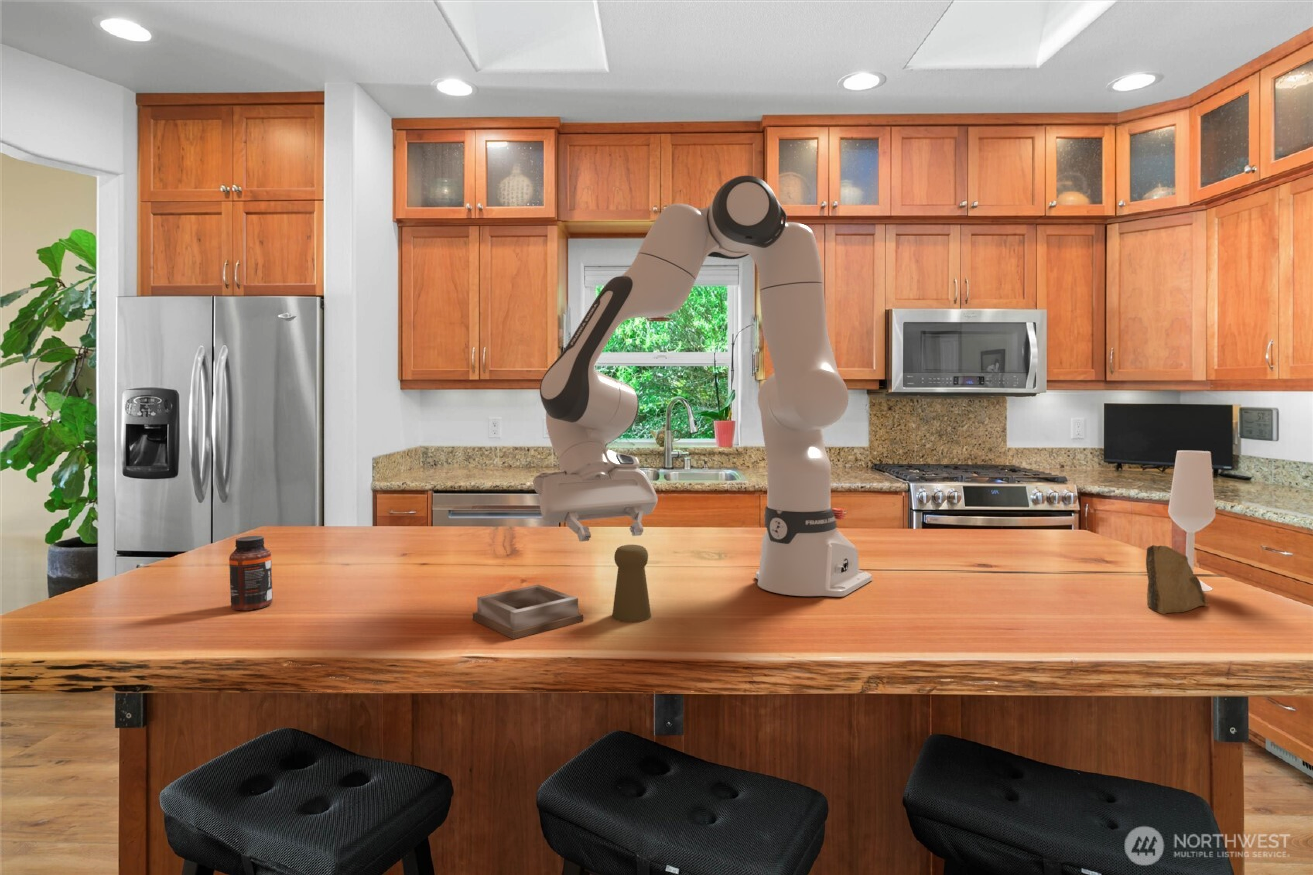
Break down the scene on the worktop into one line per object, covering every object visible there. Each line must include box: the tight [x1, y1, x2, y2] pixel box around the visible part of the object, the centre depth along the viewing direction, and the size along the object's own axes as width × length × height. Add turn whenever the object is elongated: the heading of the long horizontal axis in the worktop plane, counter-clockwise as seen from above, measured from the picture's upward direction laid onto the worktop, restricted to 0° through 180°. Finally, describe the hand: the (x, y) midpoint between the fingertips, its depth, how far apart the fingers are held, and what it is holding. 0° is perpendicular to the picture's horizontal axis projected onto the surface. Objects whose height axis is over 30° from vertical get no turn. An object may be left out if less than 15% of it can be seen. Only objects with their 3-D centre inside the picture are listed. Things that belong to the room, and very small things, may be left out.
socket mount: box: [472, 584, 584, 640], centre depth 107 cm, size 12×12×4 cm
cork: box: [611, 544, 652, 623], centre depth 109 cm, size 6×6×11 cm
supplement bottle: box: [228, 535, 273, 611], centre depth 115 cm, size 6×6×11 cm
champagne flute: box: [1167, 450, 1217, 592], centre depth 125 cm, size 7×7×24 cm
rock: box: [1145, 544, 1209, 615], centre depth 112 cm, size 11×9×10 cm
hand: (612, 536), depth 114 cm, fingers open, 8 cm apart
